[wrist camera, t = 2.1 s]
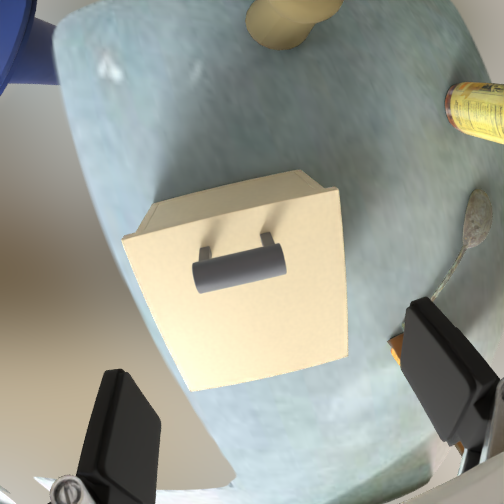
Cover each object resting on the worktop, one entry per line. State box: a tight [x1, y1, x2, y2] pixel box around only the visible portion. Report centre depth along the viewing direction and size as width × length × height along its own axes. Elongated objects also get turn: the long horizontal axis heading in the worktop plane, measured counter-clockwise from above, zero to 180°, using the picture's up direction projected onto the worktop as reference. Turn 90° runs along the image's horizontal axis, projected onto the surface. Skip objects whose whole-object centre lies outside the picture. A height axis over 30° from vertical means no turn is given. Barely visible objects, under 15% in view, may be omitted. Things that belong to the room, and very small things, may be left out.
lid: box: [121, 186, 348, 392], centre depth 22 cm, size 15×15×5 cm
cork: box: [245, 0, 344, 50], centre depth 18 cm, size 6×6×11 cm
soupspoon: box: [402, 189, 493, 329], centre depth 36 cm, size 22×3×7 cm
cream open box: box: [136, 169, 324, 232], centre depth 29 cm, size 15×15×10 cm
